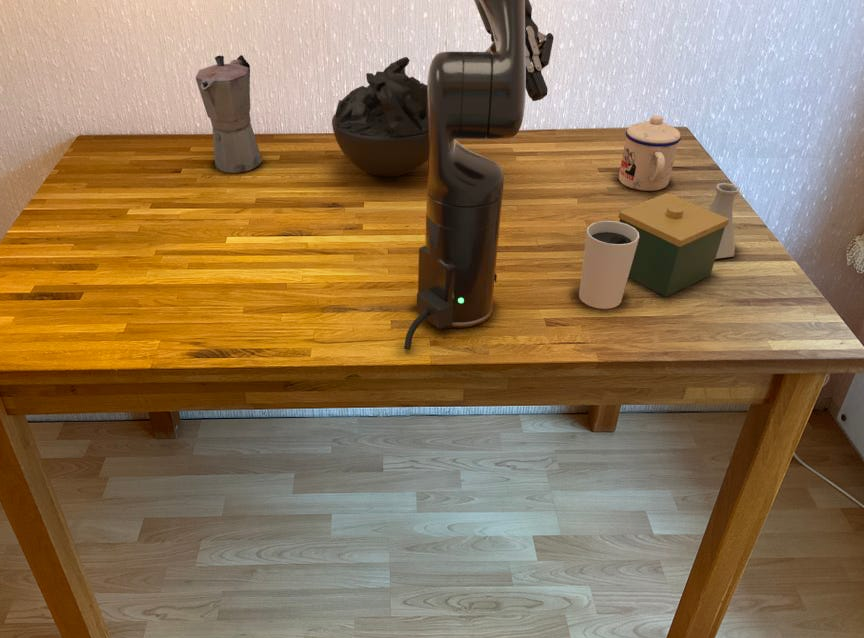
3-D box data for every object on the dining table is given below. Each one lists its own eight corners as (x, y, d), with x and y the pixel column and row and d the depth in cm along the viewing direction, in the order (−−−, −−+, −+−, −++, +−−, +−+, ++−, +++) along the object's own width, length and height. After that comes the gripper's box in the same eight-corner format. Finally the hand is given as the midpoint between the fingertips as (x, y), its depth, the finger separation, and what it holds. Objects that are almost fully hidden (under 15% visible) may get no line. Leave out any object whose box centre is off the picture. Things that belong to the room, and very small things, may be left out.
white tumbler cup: (606, 280, 106) (619, 217, 99) (634, 304, 101) (650, 239, 94) (566, 290, 104) (576, 225, 98) (593, 314, 99) (606, 249, 93)
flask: (728, 237, 115) (746, 177, 109) (741, 261, 109) (761, 199, 103) (680, 236, 116) (696, 176, 110) (691, 259, 110) (708, 197, 104)
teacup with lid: (611, 171, 136) (623, 107, 129) (661, 171, 135) (676, 107, 128) (627, 199, 126) (641, 133, 119) (680, 199, 126) (697, 133, 119)
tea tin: (665, 298, 102) (683, 233, 96) (607, 267, 109) (620, 204, 102) (712, 275, 106) (731, 212, 100) (654, 246, 113) (669, 186, 107)
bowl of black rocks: (380, 205, 125) (379, 94, 114) (313, 169, 138) (305, 65, 126) (465, 174, 135) (471, 68, 124) (395, 143, 148) (395, 44, 136)
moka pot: (196, 176, 136) (176, 64, 124) (233, 145, 147) (219, 40, 135) (243, 182, 134) (228, 68, 121) (277, 150, 145) (266, 43, 133)
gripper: (478, -17, 108) (522, 93, 107) (545, -26, 114) (587, 79, 113) (453, 13, 114) (494, 117, 114) (516, 4, 120) (556, 102, 120)
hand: (540, 97), depth 114 cm, fingers closed
